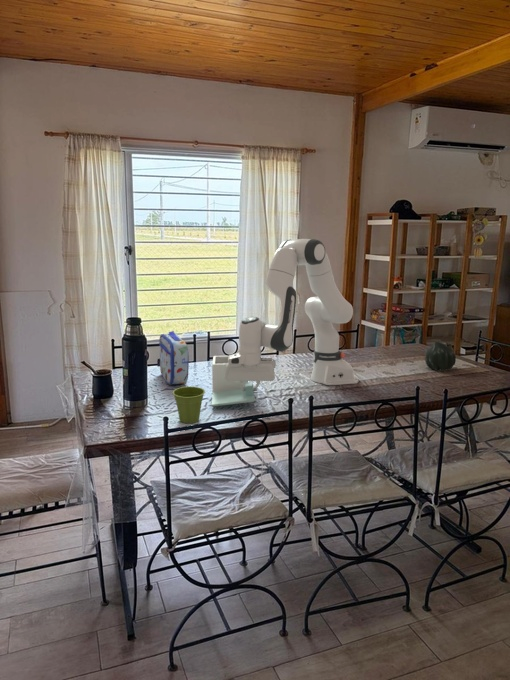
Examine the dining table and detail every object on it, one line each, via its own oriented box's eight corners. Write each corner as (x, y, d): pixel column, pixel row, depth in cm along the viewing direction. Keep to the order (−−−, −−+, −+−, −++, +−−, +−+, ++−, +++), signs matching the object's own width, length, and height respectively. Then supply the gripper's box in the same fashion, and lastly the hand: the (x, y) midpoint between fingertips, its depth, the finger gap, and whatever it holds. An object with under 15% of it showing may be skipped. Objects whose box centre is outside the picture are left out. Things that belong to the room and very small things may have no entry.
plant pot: (167, 423, 185) (166, 394, 182) (183, 412, 195) (182, 384, 193) (196, 428, 181) (195, 398, 178) (210, 416, 191) (210, 388, 189)
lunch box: (156, 372, 248) (154, 328, 243) (176, 370, 251) (175, 327, 247) (169, 389, 223) (167, 340, 218) (191, 386, 227) (190, 339, 222)
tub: (246, 385, 229) (247, 355, 226) (247, 395, 215) (247, 364, 212) (213, 385, 228) (213, 355, 225) (212, 396, 215) (212, 364, 211)
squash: (466, 361, 253) (450, 335, 259) (448, 366, 245) (432, 340, 250) (446, 373, 264) (432, 349, 269) (428, 379, 256) (413, 354, 261)
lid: (253, 389, 212) (252, 378, 211) (254, 401, 197) (253, 389, 196) (213, 393, 212) (211, 383, 211) (211, 406, 197) (210, 394, 196)
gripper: (275, 355, 205) (274, 388, 208) (224, 355, 204) (224, 388, 207) (276, 359, 198) (275, 393, 202) (224, 359, 198) (224, 393, 201)
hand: (249, 390), depth 204 cm, fingers closed on lid, 3 cm apart
